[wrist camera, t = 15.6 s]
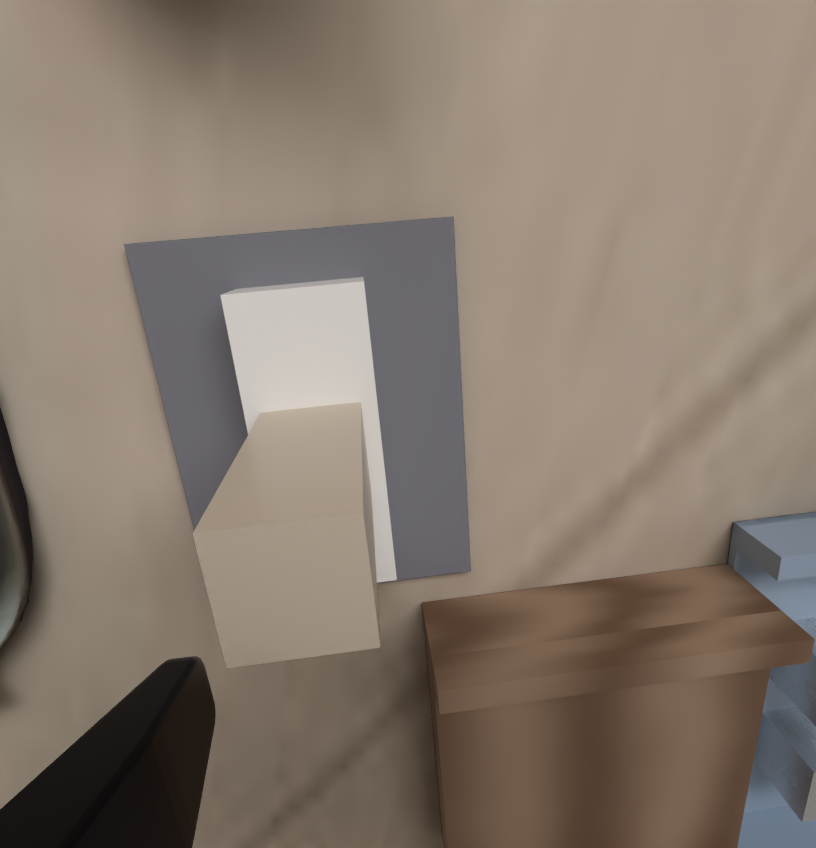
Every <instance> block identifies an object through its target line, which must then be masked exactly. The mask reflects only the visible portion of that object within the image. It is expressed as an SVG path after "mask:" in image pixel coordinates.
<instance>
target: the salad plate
mask: <svg viewBox="0 0 816 848" xmlns="http://www.w3.org/2000/svg"><path fill="white" fill-rule="evenodd" d="M32 556H33V549H32V537H31V531H30V525H29V519H28V510H27V502H26V496H25V491H24V488H23V485H22V482H21V479H20V475H19V472H18V469H17V466H16V462H15V458H14V454H13V450H12V447H11V443H10V439H9V435H8V431H7V428H6V425H5V421H4V418H3V415H2V412H1V408H0V649H1V647H2V646H3V645H4V644H5V642H6V641H7V640H8V639H9V638H10V637H11V636H12V635H13V633H14V631H15V629H16V627H17V626H18V624H19V623H20V621H21V620H22V617H23V615H24V611H25V609H26V607H27V604H28V602H29V591H30V584H31V577H32Z"/></svg>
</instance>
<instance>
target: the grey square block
mask: <svg viewBox="0 0 816 848" xmlns="http://www.w3.org/2000/svg"><path fill="white" fill-rule="evenodd" d="M754 760H755V762H756V763H757V764H758V766H759V767H760V768H761V770H762V771H763V772H764V773H765V775H766V776H767V777H768V779H769V780H770V781H771V783H772V784H773V785H774V787H775V788H776V789H777V790H778V792H779V793H780V794H781V796H782V797H783V798H784V800H785V801H786V802H787V803H788V805H789V806H790V807H791V809H792V810H793V811H794V813H795V814H796V815H797V816H798V818H799V819H800V820H801V822H807V821H813V820H816V726H815V725H814V724H813V723H812V722H811V721H810V720H809V719H808V717H807V716H806V715H805V714H804V713H803V712H802V711H801V710H800V709H799V708H798V707H792V708H785V709H778V710H771V711H765V712H763V713H762V718H761V723H760V729H759V734H758V739H757V745H756V750H755V755H754Z"/></svg>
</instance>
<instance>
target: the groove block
mask: <svg viewBox="0 0 816 848" xmlns="http://www.w3.org/2000/svg"><path fill="white" fill-rule="evenodd" d="M422 610H423V622H424V633H425V645H426V656H427V667H428V679H429V690H430V702H431V713H432V725H433V736H434V748H435V759H436V771H437V782H438V794H439V805H440V817H441V828H442V839H443V846H444V848H737V847H738V841H739V836H740V831H741V825H742V820H743V814H744V809H745V804H746V798H747V793H748V788H749V782H750V777H751V772H752V766H753V761H754V755H755V750H756V745H757V739H758V734H759V729H760V723H761V718H762V713H763V707H764V702H765V696H766V691H767V686H768V680H769V675H770V670H771V668H774V667H781V666H788V665H795V664H803V663H810V659H811V655H812V650H813V645H814V641H815V639H814V638H813V637H812V636H810V635H809V634H808V633H807V632H806V631H805V630H804V629H802V628H801V627H800V626H799V625H798V624H797V623H795V622H794V621H793V620H792V619H791V618H790V617H789V616H787V615H786V614H785V613H784V612H783V611H782V610H780V609H779V608H778V607H777V606H776V605H775V604H774V603H772V602H771V601H770V600H769V599H768V598H767V597H765V596H764V595H763V594H762V593H761V592H760V591H759V590H757V589H756V588H755V587H754V586H753V585H752V584H750V583H749V582H748V581H747V580H746V579H745V578H744V577H742V576H741V575H740V574H739V573H738V572H737V571H735V570H734V569H733V568H732V567H731V566H730V565H729V564H721V565H714V566H706V567H698V568H690V569H682V570H674V571H666V572H659V573H651V574H643V575H635V576H627V577H619V578H612V579H604V580H596V581H588V582H580V583H572V584H564V585H557V586H549V587H541V588H533V589H525V590H517V591H509V592H502V593H494V594H486V595H478V596H470V597H462V598H454V599H447V600H439V601H431V602H423V603H422Z"/></svg>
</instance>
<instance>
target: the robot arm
mask: <svg viewBox="0 0 816 848" xmlns="http://www.w3.org/2000/svg"><path fill="white" fill-rule="evenodd" d="M214 725H215V703H214V699H213V695H212V692H211V688H210V684H209V680H208V677H207V673H206V669H205V666H204V663H203V661H202V660H201V658H199V657H196V656H193V657H184V658H175V659H170V660H167V661H165V662H164V663H163V664H161V665H160V666H159V667H158V668H157V669H156V670H155V671H154V672H152V673H151V674H150V675H149V676H148V677H147V678H146V679H145V680H144V681H142V682H141V683H140V684H139V685H138V686H137V687H136V688H135V689H134V690H132V691H131V692H130V693H129V694H128V695H127V696H126V697H125V698H124V699H122V700H121V701H120V702H119V703H118V704H117V705H116V706H115V707H114V708H112V709H111V710H110V711H109V712H108V713H107V714H106V715H105V716H104V717H103V718H101V719H100V720H99V721H98V722H97V723H96V724H95V725H94V726H93V727H91V728H90V729H89V730H88V731H87V732H86V733H85V734H84V735H83V736H81V737H80V738H79V739H78V740H77V741H76V742H75V743H74V744H73V745H71V746H70V747H69V748H68V749H67V750H66V751H65V752H64V753H63V754H61V755H60V756H59V757H58V758H57V759H56V760H55V761H54V762H53V763H51V764H50V765H49V766H48V767H47V768H46V769H45V770H44V771H43V772H41V773H40V774H39V775H38V776H37V777H36V778H35V779H34V780H33V781H31V782H30V783H29V784H28V785H27V786H26V787H25V788H24V789H23V790H21V791H20V792H19V793H18V794H17V795H16V796H15V797H14V798H13V799H11V800H10V801H9V802H8V803H7V804H6V805H5V806H4V807H3V808H1V809H0V848H192V845H193V840H194V835H195V830H196V824H197V819H198V813H199V808H200V802H201V797H202V791H203V786H204V780H205V775H206V769H207V764H208V758H209V753H210V747H211V742H212V736H213V731H214Z"/></svg>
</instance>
